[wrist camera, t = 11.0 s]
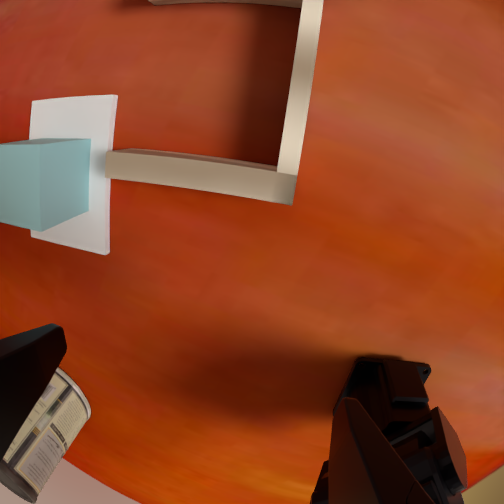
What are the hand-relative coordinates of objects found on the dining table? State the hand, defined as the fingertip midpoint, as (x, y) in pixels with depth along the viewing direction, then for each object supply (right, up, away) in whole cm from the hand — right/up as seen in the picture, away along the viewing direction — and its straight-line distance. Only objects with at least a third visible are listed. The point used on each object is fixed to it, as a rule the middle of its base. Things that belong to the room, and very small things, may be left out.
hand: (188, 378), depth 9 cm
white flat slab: (-11, +9, +11) cm, 19 cm away
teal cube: (-12, +9, +11) cm, 18 cm away
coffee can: (-21, -12, +21) cm, 32 cm away
